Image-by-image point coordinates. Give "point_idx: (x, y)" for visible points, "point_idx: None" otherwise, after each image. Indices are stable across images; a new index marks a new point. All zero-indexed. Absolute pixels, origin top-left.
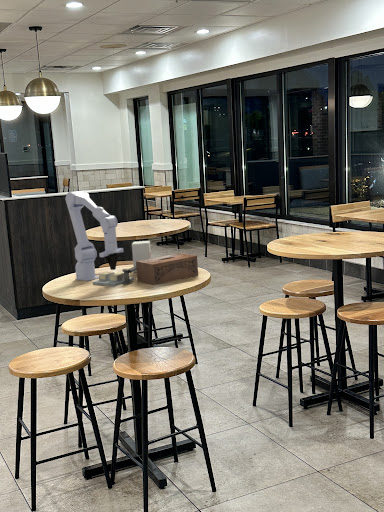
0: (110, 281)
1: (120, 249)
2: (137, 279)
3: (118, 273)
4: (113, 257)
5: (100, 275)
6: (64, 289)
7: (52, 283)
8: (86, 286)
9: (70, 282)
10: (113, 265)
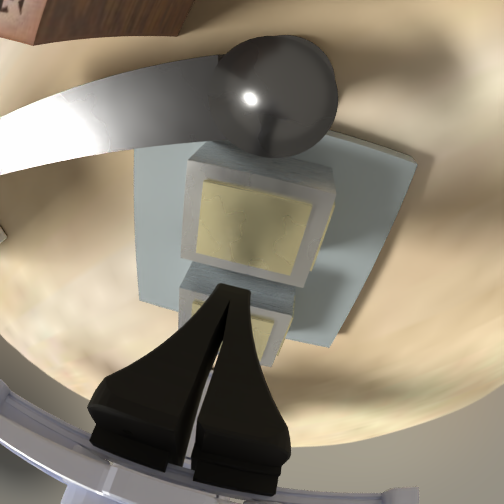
0: None
1: (6, 438)
2: (169, 35)
3: (235, 223)
4: (264, 426)
5: (280, 348)
6: (429, 390)
7: (303, 444)
8: (384, 342)
9: (282, 417)
10: (251, 327)
